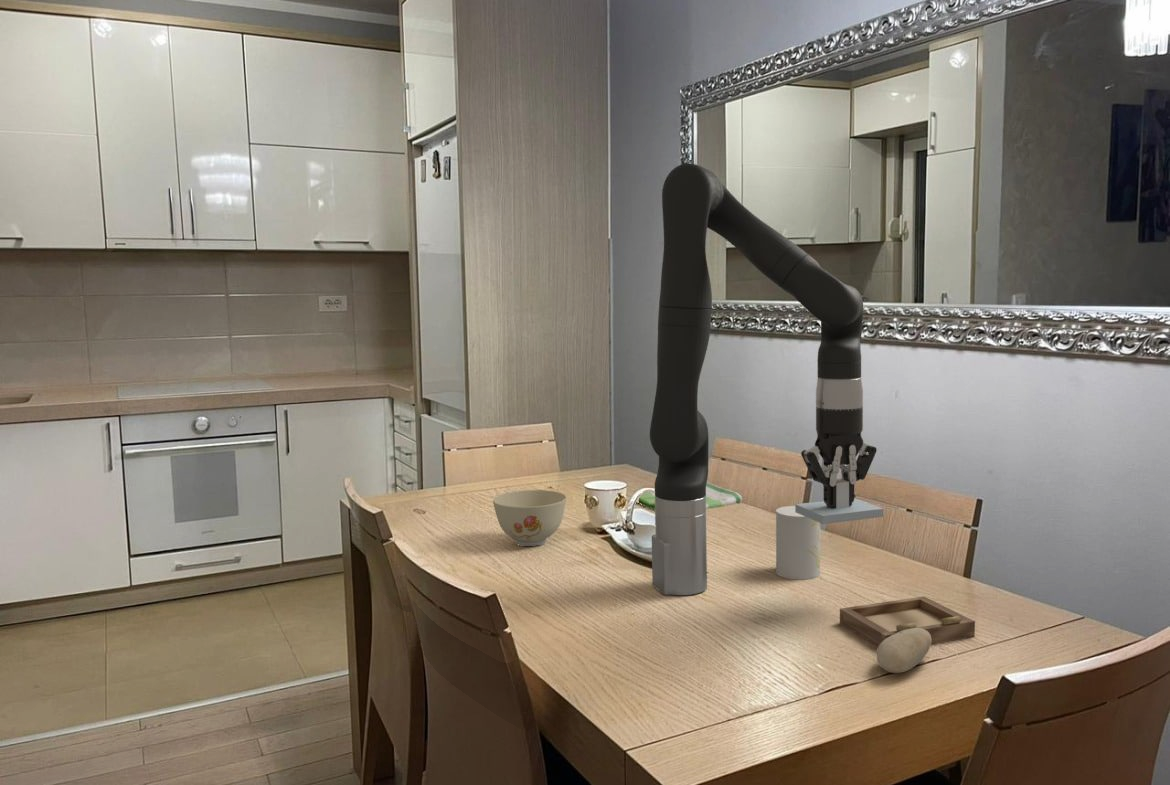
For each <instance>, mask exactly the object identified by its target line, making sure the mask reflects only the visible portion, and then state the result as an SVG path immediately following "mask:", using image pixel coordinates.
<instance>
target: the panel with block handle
mask: <svg viewBox="0 0 1170 785" xmlns="http://www.w3.org/2000/svg"><path fill="white" fill-rule="evenodd" d="M835 486H836V508H830V507H828V506H827V505H826V503H824V500H822V501H813V502H803V503H795V505H794V506H795V512H796V513H798V514H801V515H803V516H805V517H807V518H810V519H812V520H814V521H817V522H819V523H820V525H826V524H834V523H835V524H836V523H837V524H838V523H844V522H850V521H851V522H853V521H859V520H868V519H876V518H884V508H882V507H881V506H877V505H874V504H872V503H869V502H865V501H864V500H862V499H861V500H860V499H858V498H855V497H854V502H852V506H849V481H846V480H843V479H842V478H837V479H836V485H835Z"/></svg>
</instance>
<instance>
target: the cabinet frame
mask: <svg viewBox="0 0 1170 785" xmlns="http://www.w3.org/2000/svg"><path fill="white" fill-rule="evenodd" d="M839 623H840V624H841V625H843V627H846V628H847V629H849V630H850V631H852V632H854V633H855V634H857V635H858V636H860V637H862V638H863V639H865V640H867V641H869V643H870V644H873V645H874V646H877V648H878V647H879V645H880V644H881V643H882V642H883V641H884V640H885V639H886V638H888V637H890V636H891V635H893V634H895V633H898V632H900V631H903V630H906V629H911V628H922V629H924V630H926V631H928V632H929V634H930V635H931V639H932V642H931V644H937V643H942V642H948V641H955V640H961V639H965V638H966V639H967V638H973V637H975V636H976V634H975V633H976V630H975V629H976V620H973V619H971V618H969V617H967V616H965V615H964V614H961V613H959V612H957V611H955V610H952V609H950V608H949V607H946V606H944V605H942V604H941V603H938V602H936V601H935V600H932V599H930V598H928V597H926V596H923V595H922V596H917V597H909V598H904V599H897V600H890V601H884V602H877V603H870V604H869V603H868V604H862V605H855V606H849V607H841V608H839Z"/></svg>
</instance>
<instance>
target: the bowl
mask: <svg viewBox="0 0 1170 785" xmlns="http://www.w3.org/2000/svg"><path fill="white" fill-rule="evenodd" d="M566 503H567V496H566V495H565V494H564V493H561V492H558V491H555V490H545V489H528V490H527V489H526V490H515V491H510V492H509V491H508V492H505V493H502V494H499V495H496V496H495V497H493V499H492V504H493V507H494V511H495V515H496V519H497V522H498V525H499V526H500V528H501V530H502V531H503V532H504V533H505V534H506V536H508V537H510V538H511V539H513V540H515V542H516V543H515V544H516V545H518V544H519V545H523V546H535V547H537V546H536V545H540V546H542V545H541V544H543V545H544V543H545V544H546V542H547V539H548V538H549V537H551V536H553V534H555V533H556V531H557V530H558V529H559V528H560V525H561V523H562V522H563V517H564V512H565V508H566ZM519 545H518V546H519ZM523 546H522V547H523Z"/></svg>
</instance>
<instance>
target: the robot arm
mask: <svg viewBox="0 0 1170 785" xmlns="http://www.w3.org/2000/svg"><path fill="white" fill-rule="evenodd" d="M661 205H662V206H661V208H662V223H663V224H662V225H663V255H662V263H661V274H660V277H661V278H660V290H659V301H658V305H659V306H658V314H657V316H658V317H657V318H658V319H657V344H656V346H657V348H656V349H657V350H656V351H657V353H656V358H657V360H656V364H657V365H656V372H657V373H656V376H657V379H656V388H655V389H656V390H655V396H654V401H653V402H654V403H653V410H652V414H651V421H650V426H649V439H650V440H649V441H650V444H651V447H652V449H653V451H654V452H655V453H656V455H657V456H658V466H657V467H658V469H657V473H656V477H655V480H654V491H655V510H654V520H655V523H654V525H655V526H654V528H655V530H654V532H655V534H651V572H652V576H651V577H652V586H654V587H655V589H657V590H658V591H659V592H661V594H663V595H665V596H668V595H674V596H691V595H697V594H699V593H703V592H705V591H706V590H707V588H708V564H707V562H708V560H707V556H708V555H707V553H708V552H707V509H706V483H707V482H708V476H709V441H710V440H709V429H708V428H709V427H708V423H707V421H706V418H705V417H704V415H703V414H702V413H701V412H700V411H699V410H698V395H699V394H698V390H699V381H700V376H701V372H702V369H703V365H704V362H705V358H706V355H707V351H708V346H709V341H710V334H711V329H712V328H711V327H712V326H711V325H712V314H713V313H712V311H713V309H712V308H713V295H712V284H711V279H710V278H711V277H710V273H709V268H708V267H709V266H708V260H707V252H706V242H707V240H706V239H707V230H708V229H709V230H711V231H712V232H714V233H716V234H718V235H719V236H720V237H721V238H723V239H725V240H726V241H727V242H728V243H730V244H731V245H732V246H733V247H735V249H736V250H738V252H740V253H741V254H742V255H743V256H744V257H745V258H746V260H748V262H750V263H751V265H753V266H754V267H755V268H756V269H757V270H758V271H759V272H761V274H763V275H764V276H765V277H766V278H768V279H769V280H770V281H772V282H773V283H774V284H776V285H777V286H778V287H779V288H781V289H782V290H783V291H785V292H786V293H788V294H790V295H791V296H792V297H793V298H795V299H796V300H797V301H798V303H800V305H802V306H803V308H805V309H806V310H807V311H808V312H809V313H810V315H811V314H812V316H814V317H815V318H816V319H818V321H820V328H821V329H820V344H819V346H818V350H817V360H816V361H817V379H816V380H817V381H816V382H817V383H816V388H815V431H816V434H817V436H816V440H815V442H814V446H813V447H811V448H810V449H808V450H805V449H803V450H802V451H801V452H800V454H801V458H802V460H803V461H804V464H805V466H806V468H807V470H808V472H809V474H810V476H811V478H812V481H814V482H817V483H820V484H822V486H823V501H824V503H826V505H827V506H828V507H830V508H836V486H835V485H836V479H838V478H837V477H838V473H839V472H840V471H841V473H840V474H841V479H843V480H846V481H849V506H852V502H854V498H855V485H856V483H857V481H860V480H861V481H863V480H865V478H866V476H867V475H868V472H869V470H870V467H871V465H872V462H873V460H874V458H875V455H876V453H877V450H878V449H877V447H875V446H873V445H869V444H867V443H865V442H864V439H863V437H862V432H863V430H864V427H863V426H864V425H863V423H864V422H863V421H864V420H863V419H864V415H863V414H864V410H863V409H864V406H863V405H864V403H863V402H864V401H863V400H864V397H863V396H864V394H863V393H864V392H863V391H864V390H863V382H862V352H861V350H862V349H861V343H862V342H861V339H862V333H863V321H864V301H863V297H862V295H861V293H860V292H859V291H858V289H857V288H855V287H854V286H852V285H849V284H846V283H843V282H842V281H840V280H839V279H837V278H836V277H835V276H834V275H832V274H831V273H830V272H828V271H827V270H825V269H823V268H822V266H821V265H820V263H819V262H818V261H817V260H816V259H814V258H813V256H811V255H810V254H809V253H807V252H806V251H805V250H803V249H802V248H801V247H799V246H798V245H797V244H795V243H794V242H792V240H790V239H789V238H787V237H786V236H784V235H783V234H781V233H780V232H779V231H777V230H776V229H774V228H772V227H771V226H770V225H768V223H766V222H764V221H763V220H761V219H760V218H759V217H758V216H756V215H755V214H754V213H752V212H751V211H750V210H749V209H748V208H747V207H745V206H744V204H742V203H741V202H740V201H739V199H737V198H736V197H735V196H734V195H733V194H732V193H731V192H730V191H729V189H728V188H727V187H726V186H725V185H724V184H723V183H722V182H721V180H719V178H718V176H717V175H715V173H714V172H713V171H712V170H709V169H708V168H705V167H703V166H701V165H698V164H695V163H690V162H689V163H682V164H680V165H677V166H675V167H674V168H673V169H672V170H671V171H670V172H669V173H668V175H667V176H666V177H665V180H664V182H663V185H662V190H661ZM820 457H821V458H822V460H821V464H820V461H819V460H820Z"/></svg>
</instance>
